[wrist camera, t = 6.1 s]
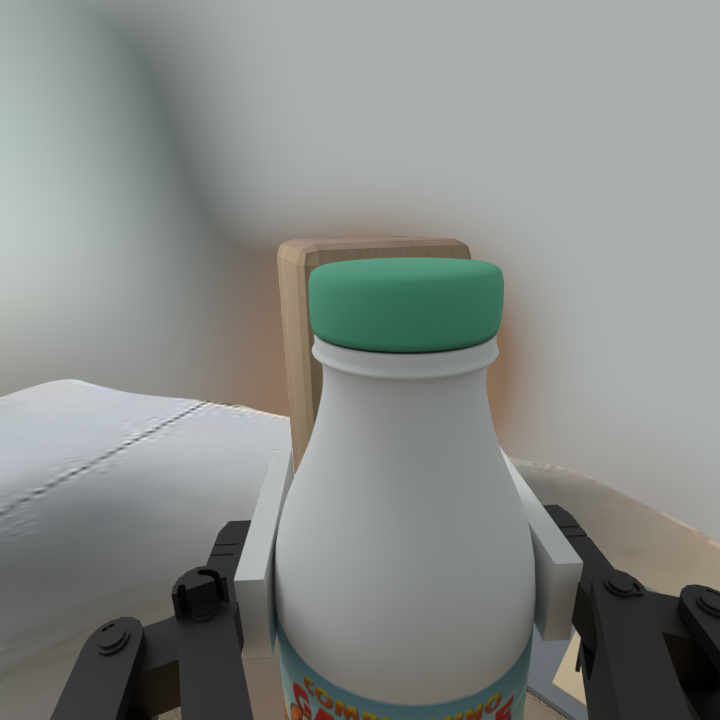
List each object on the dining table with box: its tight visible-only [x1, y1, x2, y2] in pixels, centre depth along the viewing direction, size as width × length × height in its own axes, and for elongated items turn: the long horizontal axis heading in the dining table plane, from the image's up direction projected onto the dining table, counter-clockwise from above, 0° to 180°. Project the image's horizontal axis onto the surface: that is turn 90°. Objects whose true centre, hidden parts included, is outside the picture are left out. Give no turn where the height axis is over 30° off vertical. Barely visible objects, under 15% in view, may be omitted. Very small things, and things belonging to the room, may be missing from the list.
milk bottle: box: [274, 257, 536, 720], centre depth 13 cm, size 8×8×20 cm
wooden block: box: [277, 236, 471, 474], centre depth 29 cm, size 10×10×20 cm
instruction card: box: [527, 586, 658, 720], centre depth 22 cm, size 14×10×1 cm
